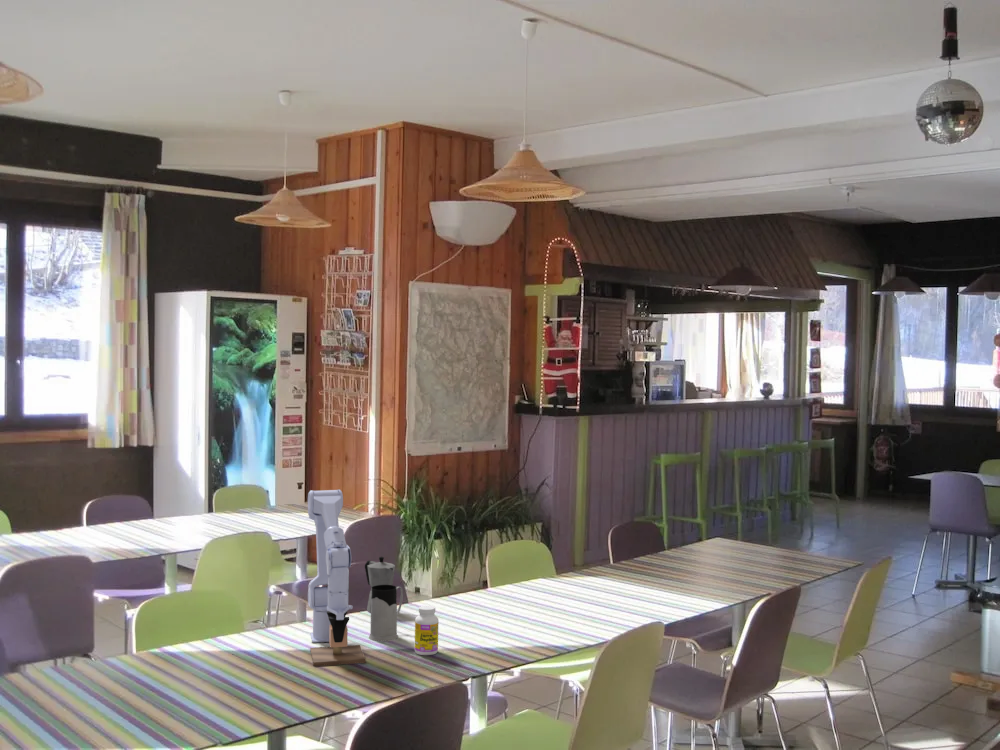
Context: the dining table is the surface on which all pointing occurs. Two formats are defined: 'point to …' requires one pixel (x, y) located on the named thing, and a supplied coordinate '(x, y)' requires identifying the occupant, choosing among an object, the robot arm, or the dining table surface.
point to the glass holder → (384, 612)
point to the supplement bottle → (426, 631)
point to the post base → (337, 655)
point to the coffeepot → (378, 575)
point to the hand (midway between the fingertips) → (337, 639)
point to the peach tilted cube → (337, 644)
